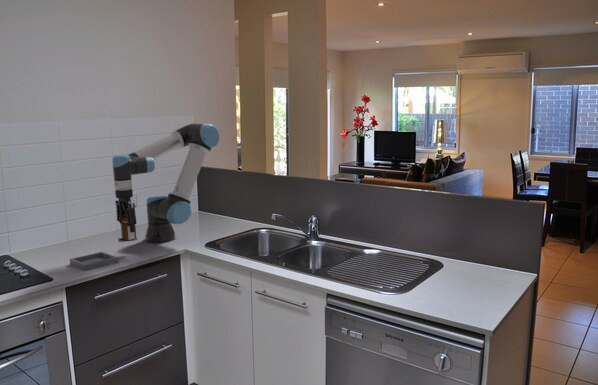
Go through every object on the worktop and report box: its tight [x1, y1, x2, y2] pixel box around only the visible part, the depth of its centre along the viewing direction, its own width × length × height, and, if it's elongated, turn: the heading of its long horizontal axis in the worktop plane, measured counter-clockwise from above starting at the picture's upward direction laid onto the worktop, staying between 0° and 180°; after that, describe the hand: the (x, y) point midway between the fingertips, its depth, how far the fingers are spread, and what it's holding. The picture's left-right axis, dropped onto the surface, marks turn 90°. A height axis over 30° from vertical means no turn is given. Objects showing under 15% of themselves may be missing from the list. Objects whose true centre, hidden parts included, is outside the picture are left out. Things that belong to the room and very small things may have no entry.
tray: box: [69, 251, 118, 272], centre depth 225 cm, size 15×14×2 cm
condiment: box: [117, 214, 139, 243], centre depth 237 cm, size 7×8×12 cm
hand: (128, 237), depth 237 cm, fingers closed on condiment, 6 cm apart
